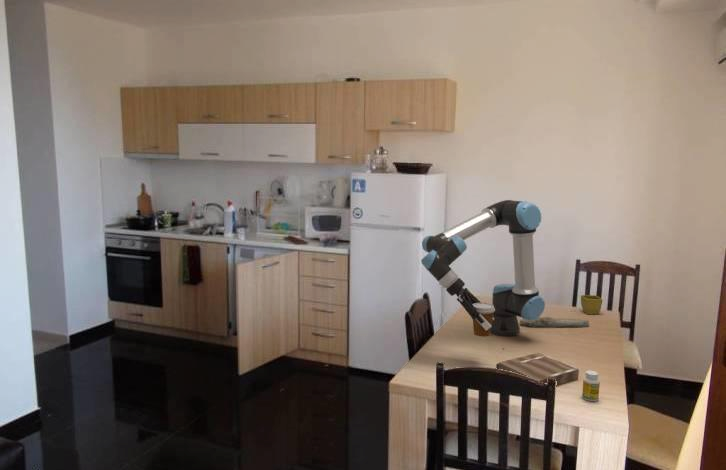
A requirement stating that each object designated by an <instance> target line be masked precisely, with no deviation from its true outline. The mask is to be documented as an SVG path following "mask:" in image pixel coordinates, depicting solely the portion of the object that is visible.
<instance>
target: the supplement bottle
mask: <svg viewBox="0 0 726 470" xmlns="http://www.w3.org/2000/svg"><path fill="white" fill-rule="evenodd" d="M600 382H601V380H600V379H599V373H598V371H595V370H586V371H585V376H583V380H582V393H581V394H582V395H581V396H582V398H583V399H584V400H585V401H588V402H597V401H598V400H599V394H600V384H601V383H600Z"/></svg>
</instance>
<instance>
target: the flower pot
mask: <svg viewBox="0 0 726 470" xmlns="http://www.w3.org/2000/svg"><path fill="white" fill-rule="evenodd" d="M580 304H581V305H580V306H581V308H582V311H583V312H584V313H585V314H586V315H597V314H598V313H599V312H600V311H601V308H602V306H603V305H602V304H603V299H602V298H601V297H599V296H598V295H596V294H595V295H594V294H592V295H590V294H589V295H588V294H582V295H581V294H580Z"/></svg>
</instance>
